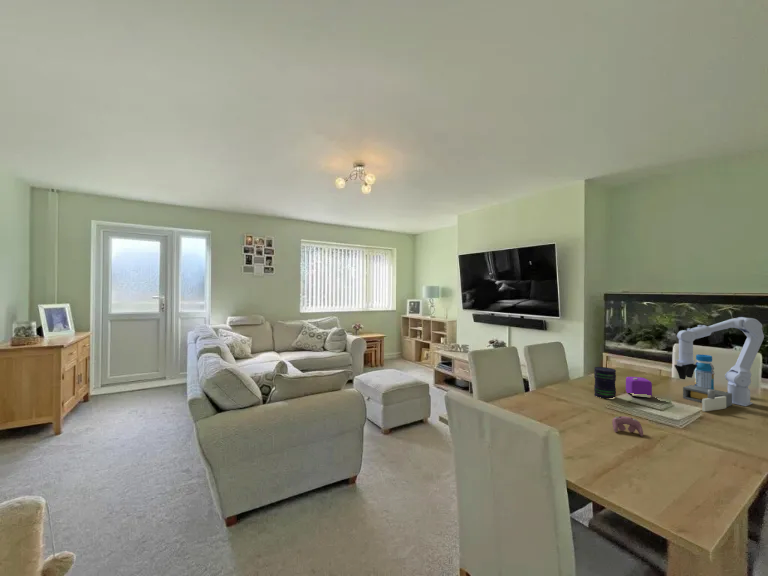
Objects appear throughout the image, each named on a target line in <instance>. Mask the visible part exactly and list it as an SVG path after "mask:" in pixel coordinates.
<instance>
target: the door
mask: <svg viewBox="0 0 768 576" xmlns="http://www.w3.org/2000/svg"><path fill="white" fill-rule="evenodd" d="M715 390H716V389H714V390H711V389H708V398H705V399H702V403H701V406H702V407H701V411H702V412H710V411H711V412H712V411H717V410H723V409H724V410H725V409H727V407H726V396H721V397H715Z"/></svg>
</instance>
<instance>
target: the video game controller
mask: <svg viewBox="0 0 768 576" xmlns="http://www.w3.org/2000/svg"><path fill="white" fill-rule="evenodd" d="M611 421H612V428H613V431H614V433H616V432H617V433H618V431H620V432H624V431H626V426H625V425H627V426H628V427H627V430H628V432H629V433H632V432H633V433H634V432H635V431H637V433H638V434H639V436H640V437H643V436H644V430H643V428H642V427H643V426H642V424H641V423H640V421H638V419H636V418H632V417H630V416H620V415H619V416H615V417H613V418H612V420H611Z"/></svg>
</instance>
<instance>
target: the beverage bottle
mask: <svg viewBox="0 0 768 576" xmlns="http://www.w3.org/2000/svg"><path fill="white" fill-rule="evenodd" d="M695 360H696V362H695V365H697V367H696V368H695V370H694V386H699V387H704V388H709V389H714V390H715V386H714V384H715V378H714V377H715V371H714V370H715V368H714V365H713V364H712V363H713V356H712V355H710V354H709V355H708V354H700V353H699V354H695Z"/></svg>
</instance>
